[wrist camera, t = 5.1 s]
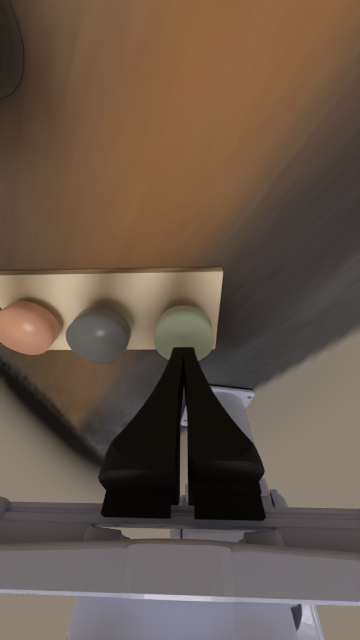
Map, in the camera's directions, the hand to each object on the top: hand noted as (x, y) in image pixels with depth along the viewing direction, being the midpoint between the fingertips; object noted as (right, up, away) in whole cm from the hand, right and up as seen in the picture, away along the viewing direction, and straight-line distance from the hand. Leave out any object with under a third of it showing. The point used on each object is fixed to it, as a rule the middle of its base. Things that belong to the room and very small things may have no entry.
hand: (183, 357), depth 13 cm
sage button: (0, +2, +3) cm, 4 cm away
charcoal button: (-6, +2, +3) cm, 8 cm away
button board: (-6, +3, +5) cm, 9 cm away
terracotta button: (-13, +3, +4) cm, 14 cm away
